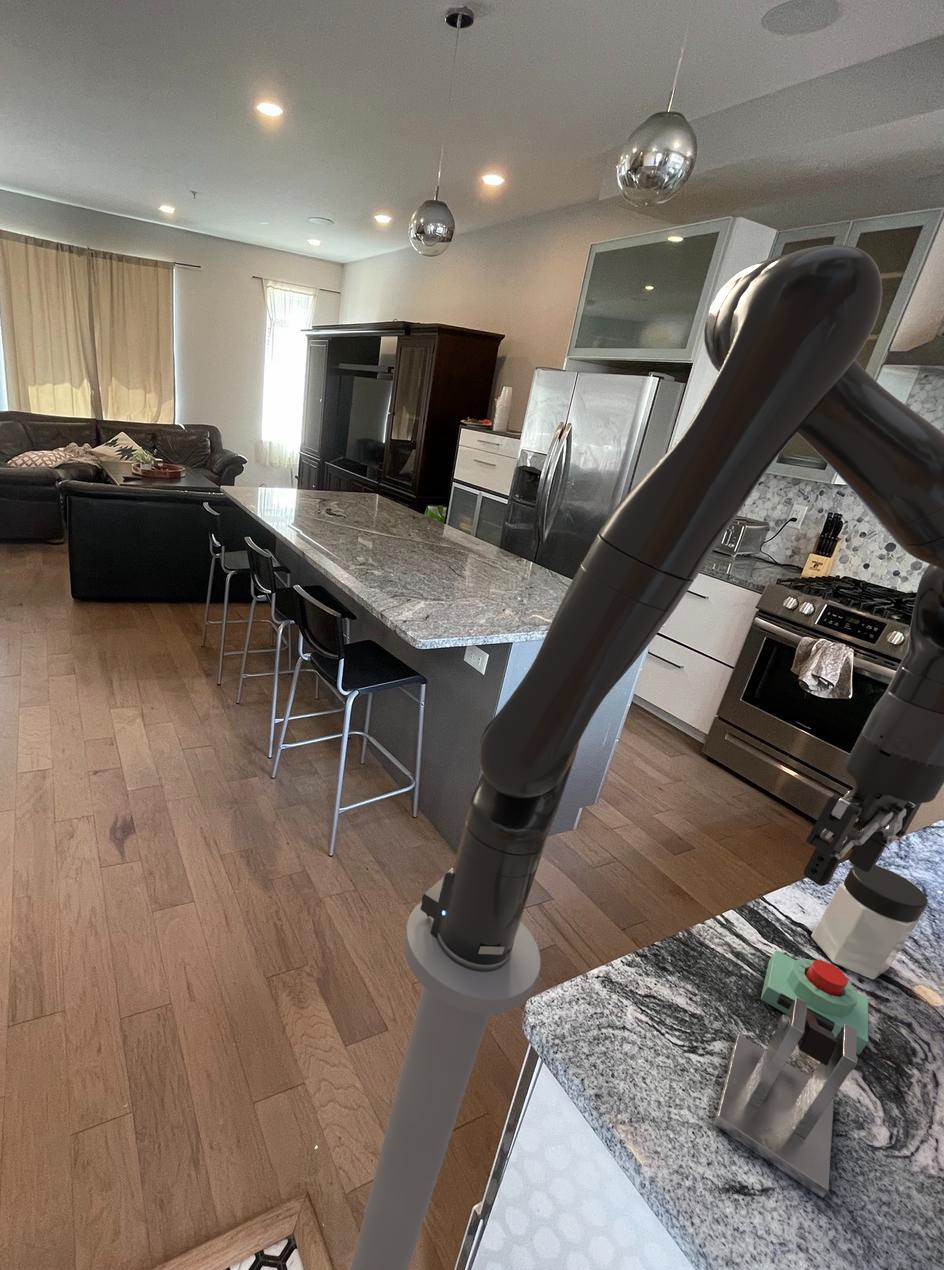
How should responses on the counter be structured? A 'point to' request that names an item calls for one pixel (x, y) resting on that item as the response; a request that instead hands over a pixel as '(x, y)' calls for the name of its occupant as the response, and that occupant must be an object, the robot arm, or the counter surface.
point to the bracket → (786, 1100)
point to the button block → (815, 996)
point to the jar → (869, 920)
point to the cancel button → (827, 977)
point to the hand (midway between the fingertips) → (837, 873)
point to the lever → (814, 1033)
